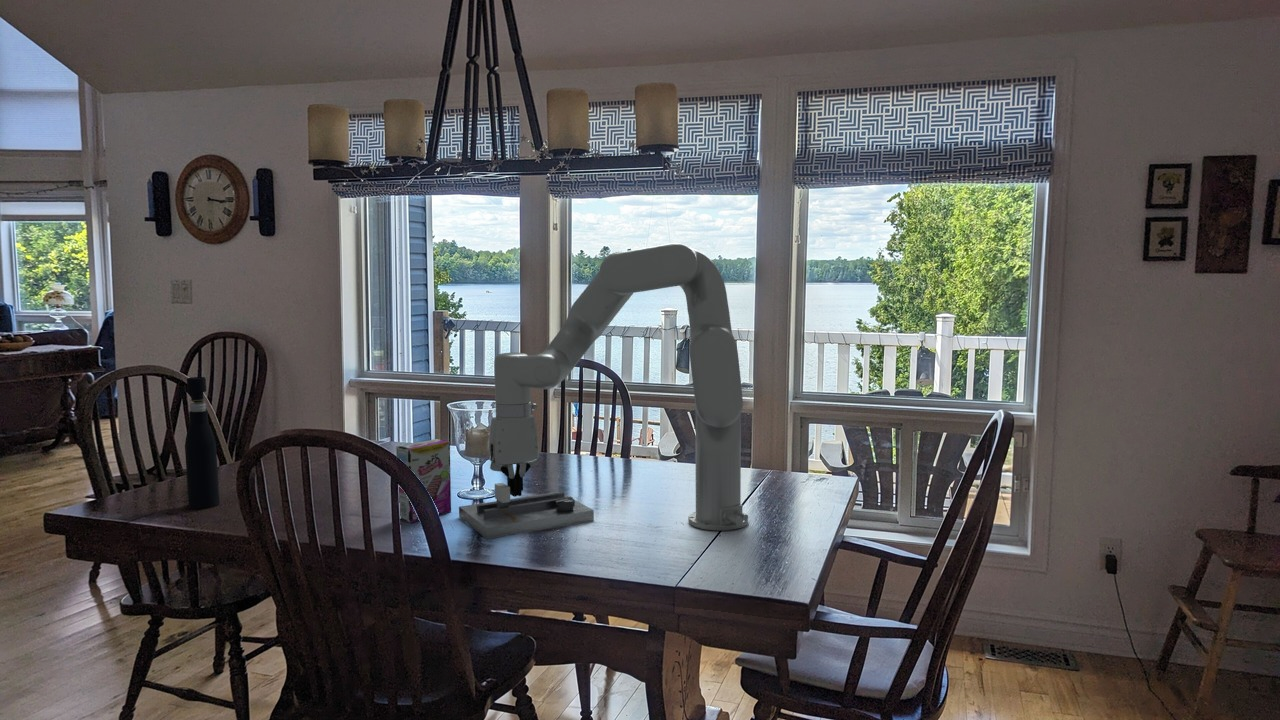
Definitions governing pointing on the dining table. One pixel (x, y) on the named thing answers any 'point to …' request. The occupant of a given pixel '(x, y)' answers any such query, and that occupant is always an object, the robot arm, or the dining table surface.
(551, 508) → the console
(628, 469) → the dining table surface
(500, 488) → the block
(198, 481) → the black water bottle
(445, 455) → the candy bar box
